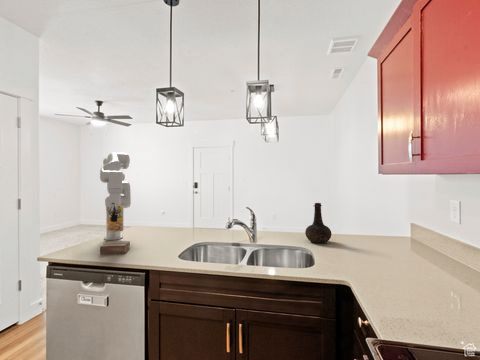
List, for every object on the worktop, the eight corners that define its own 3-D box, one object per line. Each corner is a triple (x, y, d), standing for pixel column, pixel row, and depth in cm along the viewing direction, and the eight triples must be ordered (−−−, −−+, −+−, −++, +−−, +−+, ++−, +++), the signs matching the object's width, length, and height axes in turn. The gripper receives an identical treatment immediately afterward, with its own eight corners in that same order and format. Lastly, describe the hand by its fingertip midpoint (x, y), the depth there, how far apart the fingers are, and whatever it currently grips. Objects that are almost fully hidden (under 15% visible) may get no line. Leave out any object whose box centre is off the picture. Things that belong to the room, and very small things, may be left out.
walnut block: (106, 249, 176) (106, 241, 176) (129, 248, 178) (129, 241, 178) (99, 254, 164) (99, 246, 164) (125, 254, 166) (125, 245, 166)
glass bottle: (335, 242, 200) (335, 203, 200) (324, 246, 187) (324, 204, 187) (312, 238, 212) (312, 201, 212) (300, 242, 199) (301, 203, 199)
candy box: (106, 232, 168) (106, 206, 167) (108, 230, 172) (108, 205, 171) (122, 231, 170) (122, 206, 170) (123, 230, 174) (123, 205, 174)
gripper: (113, 190, 178) (113, 219, 179) (104, 192, 162) (104, 223, 162) (125, 190, 180) (125, 218, 180) (118, 191, 163) (118, 223, 163)
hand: (115, 220), depth 171 cm, fingers closed on candy box, 4 cm apart
